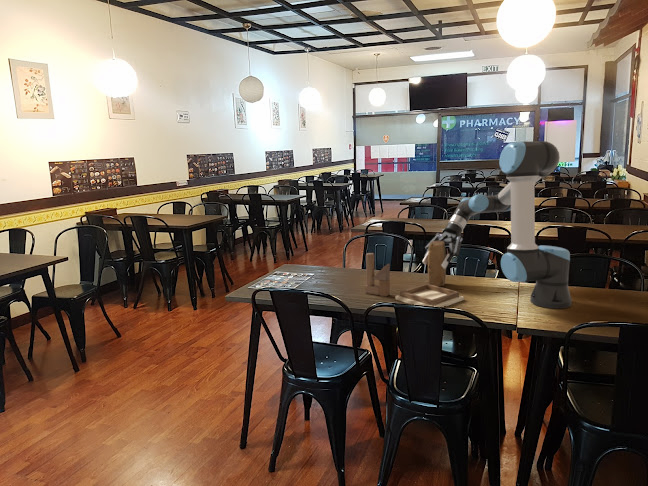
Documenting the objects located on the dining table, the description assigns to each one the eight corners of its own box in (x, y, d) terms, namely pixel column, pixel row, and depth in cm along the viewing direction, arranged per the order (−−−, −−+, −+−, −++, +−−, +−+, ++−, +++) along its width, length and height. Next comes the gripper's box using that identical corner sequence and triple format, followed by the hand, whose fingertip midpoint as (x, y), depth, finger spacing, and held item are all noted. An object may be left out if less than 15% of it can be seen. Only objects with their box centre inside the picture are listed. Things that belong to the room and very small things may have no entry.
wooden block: (386, 296, 212) (386, 256, 209) (364, 293, 218) (364, 253, 215) (390, 294, 215) (390, 254, 212) (368, 291, 221) (368, 252, 218)
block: (443, 287, 220) (443, 244, 217) (426, 286, 223) (426, 243, 219) (447, 281, 230) (447, 239, 226) (431, 280, 233) (430, 239, 229)
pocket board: (463, 300, 205) (463, 292, 204) (432, 310, 193) (433, 302, 192) (426, 289, 221) (426, 282, 220) (395, 299, 208) (395, 291, 208)
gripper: (479, 234, 223) (457, 274, 216) (439, 229, 240) (417, 265, 234) (472, 224, 219) (450, 264, 212) (432, 219, 236) (410, 256, 230)
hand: (433, 265), depth 223 cm, fingers closed on block, 10 cm apart
